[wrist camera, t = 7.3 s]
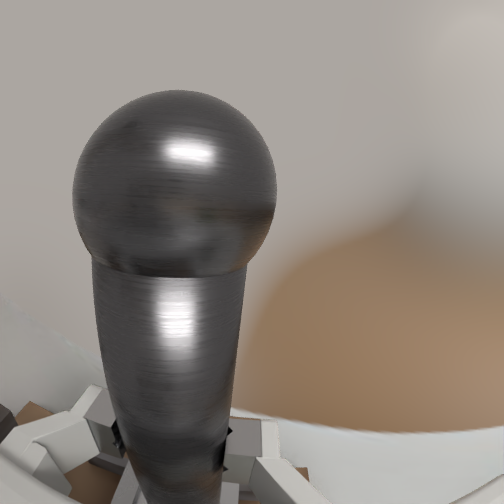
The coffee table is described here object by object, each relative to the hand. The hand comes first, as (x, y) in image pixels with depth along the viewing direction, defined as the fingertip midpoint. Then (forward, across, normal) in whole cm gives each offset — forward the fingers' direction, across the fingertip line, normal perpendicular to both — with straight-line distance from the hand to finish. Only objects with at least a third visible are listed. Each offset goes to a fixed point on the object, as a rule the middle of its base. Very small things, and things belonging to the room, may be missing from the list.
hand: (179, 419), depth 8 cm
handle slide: (-1, +1, +10) cm, 10 cm away
